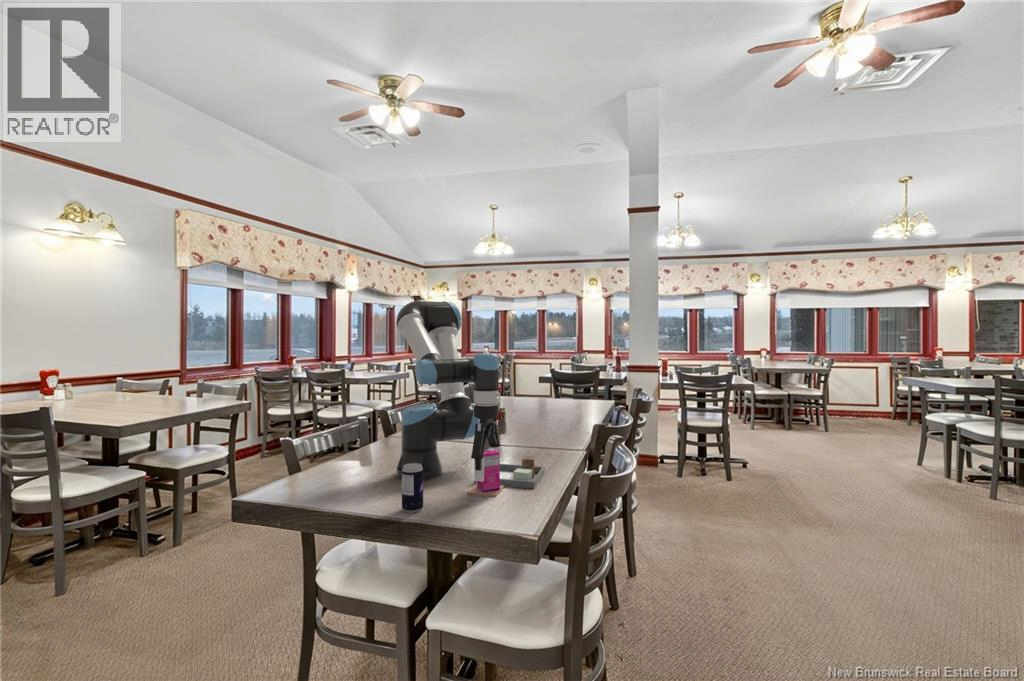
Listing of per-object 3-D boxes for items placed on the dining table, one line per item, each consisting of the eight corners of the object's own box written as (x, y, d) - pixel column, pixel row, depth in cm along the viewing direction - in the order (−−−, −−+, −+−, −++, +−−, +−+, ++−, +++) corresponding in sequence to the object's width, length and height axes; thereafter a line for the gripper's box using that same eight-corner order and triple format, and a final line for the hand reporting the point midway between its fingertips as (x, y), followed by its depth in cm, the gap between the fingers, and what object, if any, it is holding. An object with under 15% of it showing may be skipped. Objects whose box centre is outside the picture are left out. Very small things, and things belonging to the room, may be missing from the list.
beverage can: (423, 512, 124) (423, 467, 124) (401, 514, 123) (401, 468, 123) (423, 505, 129) (423, 462, 129) (402, 506, 128) (401, 463, 128)
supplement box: (475, 487, 143) (475, 449, 143) (493, 484, 146) (493, 447, 146) (482, 492, 138) (482, 454, 138) (500, 490, 140) (500, 452, 140)
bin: (474, 483, 148) (474, 477, 148) (490, 468, 165) (490, 463, 165) (534, 488, 144) (534, 482, 144) (544, 472, 160) (544, 466, 160)
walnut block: (521, 477, 155) (521, 459, 155) (522, 473, 159) (522, 456, 159) (534, 477, 155) (534, 459, 155) (534, 474, 159) (534, 456, 159)
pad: (467, 493, 139) (467, 491, 139) (477, 484, 147) (477, 482, 147) (496, 496, 136) (496, 494, 136) (504, 486, 145) (504, 485, 145)
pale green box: (513, 484, 148) (513, 471, 148) (517, 480, 152) (517, 468, 152) (528, 485, 147) (528, 473, 147) (532, 482, 150) (532, 469, 150)
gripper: (485, 410, 129) (485, 487, 129) (508, 399, 153) (508, 464, 153) (459, 409, 131) (459, 485, 131) (487, 398, 155) (487, 462, 155)
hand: (486, 474), depth 142 cm, fingers open, 13 cm apart
